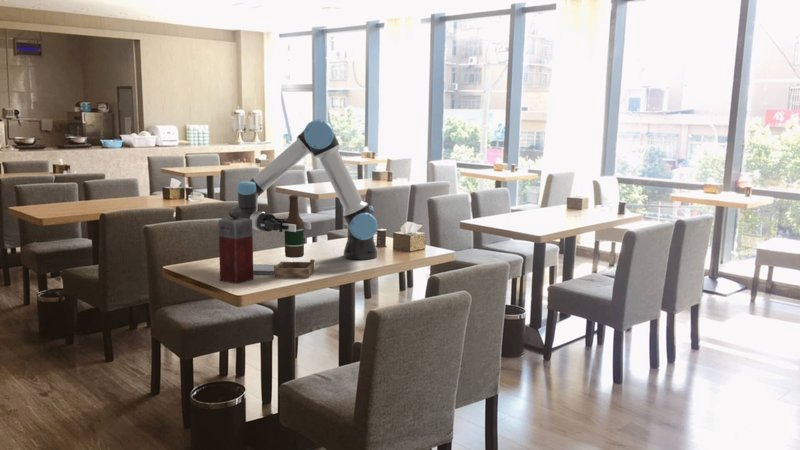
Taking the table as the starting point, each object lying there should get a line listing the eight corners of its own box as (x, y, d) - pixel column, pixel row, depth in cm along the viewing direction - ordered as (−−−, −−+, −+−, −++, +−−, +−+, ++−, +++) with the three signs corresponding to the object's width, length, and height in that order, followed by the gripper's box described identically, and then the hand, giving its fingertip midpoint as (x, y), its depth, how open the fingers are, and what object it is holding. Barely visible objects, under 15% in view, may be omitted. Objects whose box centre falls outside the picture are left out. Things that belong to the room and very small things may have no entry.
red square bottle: (233, 275, 267) (231, 204, 263) (253, 279, 261) (252, 206, 256) (215, 279, 260) (213, 206, 255) (236, 283, 253) (234, 208, 249)
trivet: (282, 268, 281) (282, 264, 280) (276, 274, 269) (276, 271, 268) (253, 267, 281) (253, 264, 281) (245, 274, 269) (245, 270, 269)
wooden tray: (314, 270, 277) (314, 259, 276) (309, 278, 263) (309, 266, 263) (280, 269, 277) (280, 259, 277) (273, 277, 264) (273, 266, 263)
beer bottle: (307, 254, 272) (307, 194, 268) (298, 258, 264) (297, 196, 261) (290, 253, 274) (289, 194, 271) (281, 257, 267) (279, 196, 263)
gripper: (281, 227, 287) (321, 233, 273) (243, 233, 271) (283, 240, 257) (281, 210, 286) (321, 214, 272) (243, 215, 270) (283, 220, 256)
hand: (302, 227), depth 265 cm, fingers closed on beer bottle, 7 cm apart
